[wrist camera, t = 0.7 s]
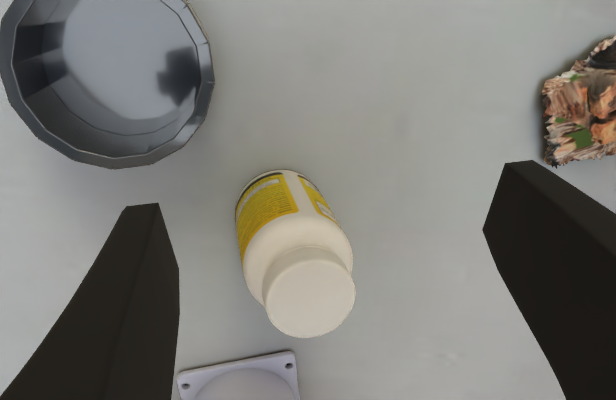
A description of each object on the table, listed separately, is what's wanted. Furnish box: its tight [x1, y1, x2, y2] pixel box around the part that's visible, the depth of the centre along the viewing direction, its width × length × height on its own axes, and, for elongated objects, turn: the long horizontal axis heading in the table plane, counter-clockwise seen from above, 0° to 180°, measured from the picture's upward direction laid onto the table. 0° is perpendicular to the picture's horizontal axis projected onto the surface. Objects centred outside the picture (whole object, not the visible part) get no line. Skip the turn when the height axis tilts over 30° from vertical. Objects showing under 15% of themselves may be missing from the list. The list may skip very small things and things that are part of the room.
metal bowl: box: [0, 0, 215, 169], centre depth 23 cm, size 9×9×4 cm
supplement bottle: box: [235, 170, 355, 338], centre depth 25 cm, size 5×5×10 cm
